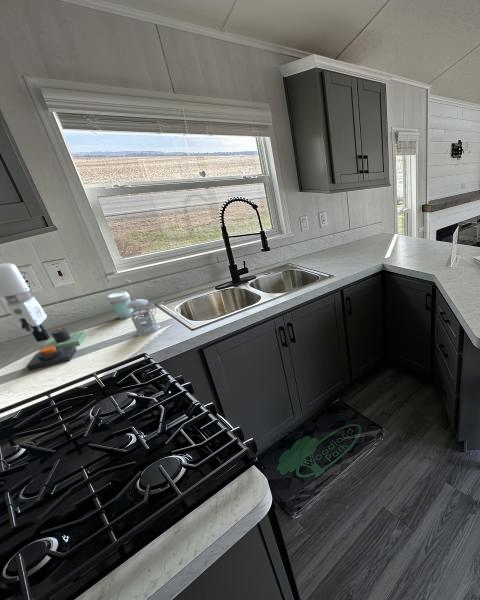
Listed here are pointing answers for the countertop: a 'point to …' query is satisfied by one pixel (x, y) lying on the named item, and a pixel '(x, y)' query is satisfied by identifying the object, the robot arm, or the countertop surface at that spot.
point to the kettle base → (52, 358)
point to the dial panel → (73, 341)
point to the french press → (144, 327)
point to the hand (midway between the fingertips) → (43, 339)
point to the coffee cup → (120, 304)
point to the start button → (48, 350)
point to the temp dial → (60, 335)
